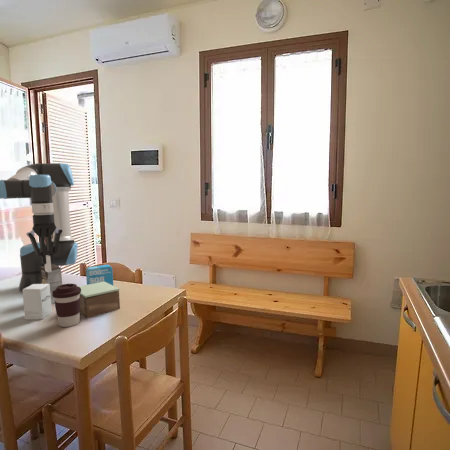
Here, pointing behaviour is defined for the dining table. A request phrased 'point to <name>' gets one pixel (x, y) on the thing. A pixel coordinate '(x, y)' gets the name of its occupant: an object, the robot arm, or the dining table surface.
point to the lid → (97, 289)
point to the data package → (99, 274)
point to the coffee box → (51, 278)
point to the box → (99, 304)
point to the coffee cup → (67, 304)
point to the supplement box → (37, 301)
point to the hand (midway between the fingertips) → (48, 271)
